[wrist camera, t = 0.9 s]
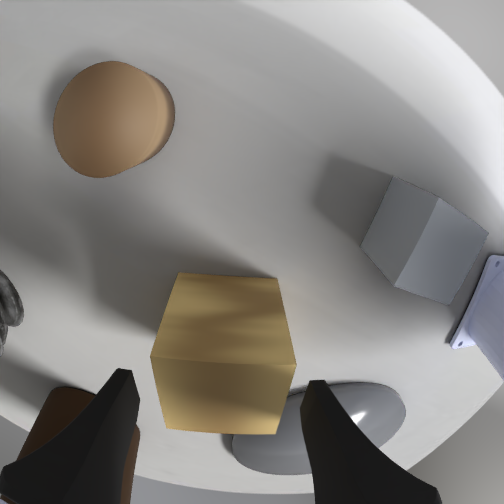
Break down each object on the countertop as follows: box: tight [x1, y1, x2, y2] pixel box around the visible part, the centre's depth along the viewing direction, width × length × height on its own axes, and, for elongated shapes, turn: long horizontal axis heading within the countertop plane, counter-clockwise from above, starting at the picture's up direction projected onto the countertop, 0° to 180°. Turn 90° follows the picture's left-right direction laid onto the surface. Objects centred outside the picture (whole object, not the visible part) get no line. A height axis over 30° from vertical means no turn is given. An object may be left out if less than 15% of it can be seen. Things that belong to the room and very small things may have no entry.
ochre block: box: [150, 272, 297, 434], centre depth 13 cm, size 5×5×6 cm
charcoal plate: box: [232, 383, 406, 475], centre depth 22 cm, size 16×16×1 cm
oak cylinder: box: [53, 61, 175, 178], centre depth 10 cm, size 4×4×3 cm
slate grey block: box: [360, 176, 489, 305], centre depth 12 cm, size 4×4×4 cm
